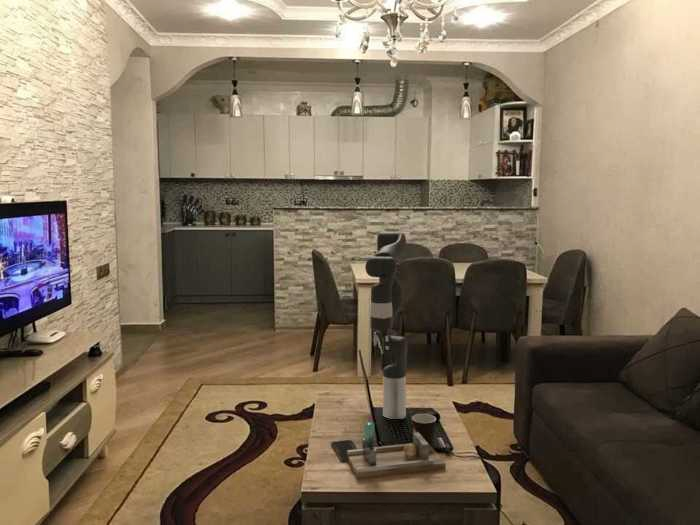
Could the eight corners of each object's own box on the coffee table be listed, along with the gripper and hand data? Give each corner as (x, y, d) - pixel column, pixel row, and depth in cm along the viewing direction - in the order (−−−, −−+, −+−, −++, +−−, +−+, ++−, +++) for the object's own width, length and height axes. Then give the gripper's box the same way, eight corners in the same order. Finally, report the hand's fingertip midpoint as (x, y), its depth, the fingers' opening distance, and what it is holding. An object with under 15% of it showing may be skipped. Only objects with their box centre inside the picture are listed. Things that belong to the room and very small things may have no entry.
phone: (351, 439, 219) (363, 457, 205) (351, 442, 219) (363, 460, 205) (330, 442, 217) (340, 460, 203) (330, 445, 217) (340, 463, 203)
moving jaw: (361, 454, 204) (361, 418, 202) (370, 453, 204) (370, 417, 203) (368, 467, 194) (368, 430, 192) (378, 466, 195) (378, 429, 193)
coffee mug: (435, 451, 211) (435, 423, 210) (410, 449, 213) (410, 422, 211) (436, 437, 222) (437, 411, 221) (413, 435, 224) (413, 410, 223)
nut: (401, 454, 204) (402, 441, 204) (414, 452, 205) (414, 440, 205) (406, 459, 200) (406, 447, 199) (418, 458, 201) (418, 446, 200)
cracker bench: (346, 458, 206) (346, 436, 204) (429, 449, 212) (429, 428, 211) (357, 479, 191) (357, 455, 190) (445, 468, 198) (445, 445, 197)
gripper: (365, 310, 210) (365, 355, 213) (376, 319, 197) (376, 367, 199) (386, 309, 212) (385, 354, 214) (398, 318, 198) (397, 365, 200)
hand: (381, 360), depth 207 cm, fingers open, 8 cm apart
